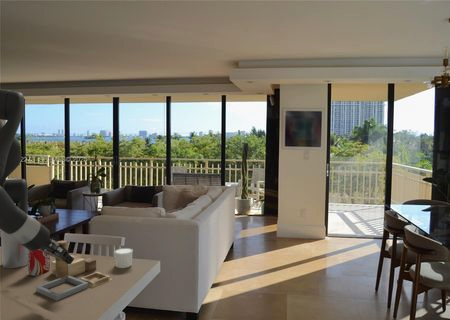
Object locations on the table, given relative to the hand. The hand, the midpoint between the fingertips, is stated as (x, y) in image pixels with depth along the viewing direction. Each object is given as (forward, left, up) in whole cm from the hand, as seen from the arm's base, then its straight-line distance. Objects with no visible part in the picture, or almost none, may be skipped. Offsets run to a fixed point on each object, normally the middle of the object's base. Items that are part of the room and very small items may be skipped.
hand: (67, 260), depth 115 cm
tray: (0, -2, -10) cm, 11 cm away
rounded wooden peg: (0, -2, -5) cm, 5 cm away
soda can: (-22, +3, -11) cm, 25 cm away
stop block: (-11, +13, -10) cm, 20 cm away
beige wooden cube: (-11, +7, -11) cm, 17 cm away
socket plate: (+3, +8, -10) cm, 14 cm away
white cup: (0, +23, -11) cm, 25 cm away
